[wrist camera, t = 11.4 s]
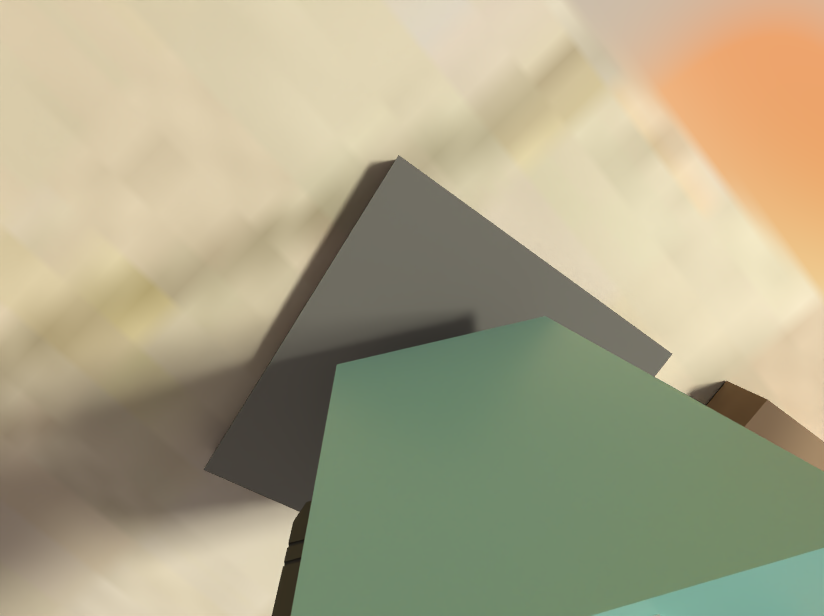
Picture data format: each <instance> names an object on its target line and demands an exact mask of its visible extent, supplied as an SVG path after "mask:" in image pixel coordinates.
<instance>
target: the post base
mask: <svg viewBox="0 0 824 616" xmlns="http://www.w3.org/2000/svg"><path fill="white" fill-rule="evenodd" d="M706 406H707V407H709V408H711V409H713V410H714V411H716V412H718V413H720V414H722V415H723V416H725V417H727V418H729V419H731V420H732V421H734V422H736V423H738V424H740V425H741V426H743V427H745V428H747V429H749V430H750V431H752V432H754V433H756V434H757V435H759V436H761V437H763V438H765V439H766V440H768V441H770V442H772V443H774V444H775V445H777V446H779V447H781V448H783V449H784V450H786V451H788V452H790V453H791V454H793V455H795V456H797V457H799V458H800V459H802V460H804V461H806V462H808V463H809V464H811V465H813V466H815V467H817V468H818V469H820V470H822V471H824V442H823V441H822V440H821V439H819V438H818V437H817V436H815V435H814V434H813V433H811V432H810V431H809V430H807V429H806V428H805V427H803V426H802V425H801V424H799V423H798V422H797V421H795V420H794V419H793V418H791V417H790V416H789V415H787V414H786V413H785V412H783V411H782V410H781V409H779V408H778V407H777V406H775V405H774V404H773V403H771V402H770V401H769V400H767V399H765V398H763V397H760V396H758V395H756V394H754V393H752V392H750V391H747V390H745V389H743V388H741V387H739V386H737V385H734V384H732V383H730V382H728V381H726V382H725V384H724V385H723V386H722V387H721V388H720V390H719V391H718V392H717V393H716V394H715V396H714V397H713V398H712V399H711V400H710V402H709V403H708V404H707V405H706Z"/></svg>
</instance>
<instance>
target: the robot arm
mask: <svg viewBox="0 0 824 616" xmlns="http://www.w3.org/2000/svg"><path fill="white" fill-rule="evenodd" d="M311 502H312V501H308V502H306V503H305V505H304V506H303V508H302V509H301V511H300V513H299V514H298V516H297V517H296V519H295V520H294V522H293V526H292V530H291V534H290V539H289V547H288V548H287V552H286V556H285V561H284V563H285V566H283V569H282V574H281V578H280V582H279V587H278V591H277V595H276V600H275V604H274V609H273V613H272V616H291V611H292V606H293V600H294V595H295V590H296V584H297V579H298V573H299V568H300V562H301V557H302V551H303V546H304V540H305V535H306V530H307V524H308V519H309V513H310V508H311Z"/></svg>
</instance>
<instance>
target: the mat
mask: <svg viewBox="0 0 824 616" xmlns="http://www.w3.org/2000/svg"><path fill="white" fill-rule="evenodd" d="M543 316H546V317H548V318H550V319H552V320H553V321H555V322H557V323H559V324H560V325H562V326H564V327H566V328H568V329H569V330H571V331H573V332H575V333H577V334H578V335H580V336H582V337H584V338H586V339H587V340H589V341H591V342H593V343H595V344H596V345H598V346H600V347H602V348H603V349H605V350H607V351H609V352H611V353H612V354H614V355H616V356H618V357H620V358H621V359H623V360H625V361H627V362H629V363H630V364H632V365H634V366H636V367H637V368H639V369H641V370H643V371H645V372H646V373H648V374H650V375H652V376H654V377H655V375H656V374H657V373H658V372H659V370H660V369H661V368H662V366H663V365H664V364H665V363H666V361H667V360H668V359H669V358H670V356H671V355H672V353H670V352H669V351H668V350H666V349H665V348H663V347H662V346H661V345H659V344H658V343H657V342H655V341H654V340H652V339H651V338H650V337H648V336H647V335H646V334H644V333H643V332H641V331H640V330H639V329H637V328H636V327H635V326H633V325H632V324H630V323H629V322H628V321H626V320H625V319H624V318H622V317H621V316H619V315H618V314H617V313H615V312H614V311H613V310H611V309H610V308H608V307H607V306H606V305H604V304H603V303H601V302H600V301H599V300H597V299H596V298H595V297H593V296H592V295H590V294H589V293H588V292H586V291H585V290H584V289H582V288H581V287H579V286H578V285H577V284H575V283H574V282H573V281H571V280H570V279H568V278H567V277H566V276H564V275H563V274H562V273H560V272H559V271H557V270H556V269H555V268H553V267H552V266H551V265H549V264H548V263H546V262H545V261H544V260H542V259H541V258H540V257H538V256H537V255H535V254H534V253H533V252H531V251H530V250H529V249H527V248H526V247H524V246H523V245H522V244H520V243H519V242H517V241H516V240H515V239H513V238H512V237H511V236H509V235H508V234H506V233H505V232H504V231H502V230H501V229H500V228H498V227H497V226H495V225H494V224H493V223H491V222H490V221H489V220H487V219H486V218H484V217H483V216H482V215H480V214H479V213H478V212H476V211H475V210H473V209H472V208H471V207H469V206H468V205H467V204H465V203H464V202H462V201H461V200H460V199H458V198H457V197H456V196H454V195H453V194H451V193H450V192H449V191H447V190H446V189H445V188H443V187H442V186H440V185H439V184H438V183H436V182H435V181H433V180H432V179H431V178H429V177H428V176H427V175H425V174H424V173H422V172H421V171H420V170H418V169H417V168H416V167H414V166H413V165H411V164H410V163H409V162H407V161H406V160H405V159H403V158H402V157H400V156H399V155H398V157H397V159H396V160H395V162H394V163H393V165H392V167H391V168H390V170H389V171H388V173H387V175H386V176H385V178H384V180H383V181H382V183H381V184H380V186H379V188H378V189H377V191H376V192H375V194H374V196H373V197H372V199H371V200H370V202H369V204H368V205H367V207H366V209H365V210H364V212H363V213H362V215H361V217H360V218H359V220H358V221H357V223H356V225H355V226H354V228H353V230H352V231H351V233H350V234H349V236H348V238H347V239H346V241H345V242H344V244H343V246H342V247H341V249H340V250H339V252H338V254H337V255H336V257H335V259H334V260H333V262H332V263H331V265H330V267H329V268H328V270H327V271H326V273H325V275H324V276H323V278H322V279H321V281H320V283H319V284H318V286H317V288H316V289H315V291H314V292H313V294H312V296H311V297H310V299H309V300H308V302H307V304H306V305H305V307H304V309H303V310H302V312H301V313H300V315H299V317H298V318H297V320H296V321H295V323H294V325H293V326H292V328H291V329H290V331H289V333H288V334H287V336H286V338H285V339H284V341H283V342H282V344H281V346H280V347H279V349H278V350H277V352H276V354H275V355H274V357H273V359H272V360H271V362H270V363H269V365H268V367H267V368H266V370H265V371H264V373H263V375H262V376H261V378H260V379H259V381H258V383H257V384H256V386H255V388H254V389H253V391H252V392H251V394H250V396H249V397H248V399H247V400H246V402H245V404H244V405H243V407H242V408H241V410H240V412H239V413H238V415H237V417H236V418H235V420H234V421H233V423H232V425H231V426H230V428H229V429H228V431H227V433H226V434H225V436H224V438H223V439H222V441H221V442H220V444H219V446H218V447H217V449H216V450H215V452H214V454H213V455H212V457H211V458H210V460H209V462H208V463H207V465H206V467H205V468H204V470H205V471H208V472H210V473H212V474H215V475H217V476H219V477H222V478H224V479H226V480H228V481H231V482H233V483H235V484H238V485H240V486H242V487H244V488H247V489H249V490H251V491H254V492H256V493H258V494H261V495H263V496H265V497H267V498H270V499H272V500H274V501H277V502H279V503H281V504H283V505H286V506H288V507H290V508H293V509H295V510H297V511H301V509H302V508H303V506H304V505H305V503H306V502H308V501H312V497H313V491H314V486H315V480H316V475H317V469H318V464H319V459H320V453H321V448H322V442H323V437H324V431H325V426H326V420H327V415H328V409H329V404H330V399H331V393H332V388H333V382H334V377H335V371H336V366H337V364H341V363H345V362H350V361H354V360H358V359H363V358H367V357H371V356H376V355H380V354H384V353H388V352H393V351H397V350H401V349H406V348H410V347H414V346H419V345H423V344H427V343H431V342H436V341H440V340H444V339H449V338H453V337H457V336H462V335H466V334H470V333H475V332H479V331H483V330H487V329H492V328H496V327H500V326H505V325H509V324H513V323H518V322H522V321H526V320H530V319H535V318H539V317H543Z"/></svg>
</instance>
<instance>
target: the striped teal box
mask: <svg viewBox="0 0 824 616" xmlns="http://www.w3.org/2000/svg"><path fill="white" fill-rule="evenodd" d="M291 616H824V471H822V470H820V469H818V468H817V467H815V466H813V465H811V464H809V463H808V462H806V461H804V460H802V459H800V458H799V457H797V456H795V455H793V454H791V453H790V452H788V451H786V450H784V449H783V448H781V447H779V446H777V445H775V444H774V443H772V442H770V441H768V440H766V439H765V438H763V437H761V436H759V435H757V434H756V433H754V432H752V431H750V430H749V429H747V428H745V427H743V426H741V425H740V424H738V423H736V422H734V421H732V420H731V419H729V418H727V417H725V416H723V415H722V414H720V413H718V412H716V411H714V410H713V409H711V408H709V407H707V406H706V405H704V404H702V403H700V402H698V401H697V400H695V399H693V398H691V397H689V396H688V395H686V394H684V393H682V392H680V391H679V390H677V389H675V388H673V387H672V386H670V385H668V384H666V383H664V382H663V381H661V380H659V379H657V378H655V377H654V376H652V375H650V374H648V373H646V372H645V371H643V370H641V369H639V368H637V367H636V366H634V365H632V364H630V363H629V362H627V361H625V360H623V359H621V358H620V357H618V356H616V355H614V354H612V353H611V352H609V351H607V350H605V349H603V348H602V347H600V346H598V345H596V344H595V343H593V342H591V341H589V340H587V339H586V338H584V337H582V336H580V335H578V334H577V333H575V332H573V331H571V330H569V329H568V328H566V327H564V326H562V325H560V324H559V323H557V322H555V321H553V320H552V319H550V318H548V317H546V316H543V317H539V318H535V319H530V320H526V321H522V322H518V323H513V324H509V325H505V326H500V327H496V328H492V329H487V330H483V331H479V332H475V333H470V334H466V335H462V336H457V337H453V338H449V339H444V340H440V341H436V342H431V343H427V344H423V345H419V346H414V347H410V348H406V349H401V350H397V351H393V352H388V353H384V354H380V355H376V356H371V357H367V358H363V359H358V360H354V361H350V362H345V363H341V364H337V366H336V371H335V377H334V382H333V388H332V393H331V399H330V404H329V409H328V415H327V420H326V426H325V431H324V437H323V442H322V448H321V453H320V459H319V464H318V469H317V475H316V480H315V486H314V491H313V497H312V502H311V508H310V513H309V519H308V524H307V530H306V535H305V540H304V546H303V551H302V557H301V562H300V568H299V573H298V579H297V584H296V590H295V595H294V600H293V606H292V611H291Z"/></svg>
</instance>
